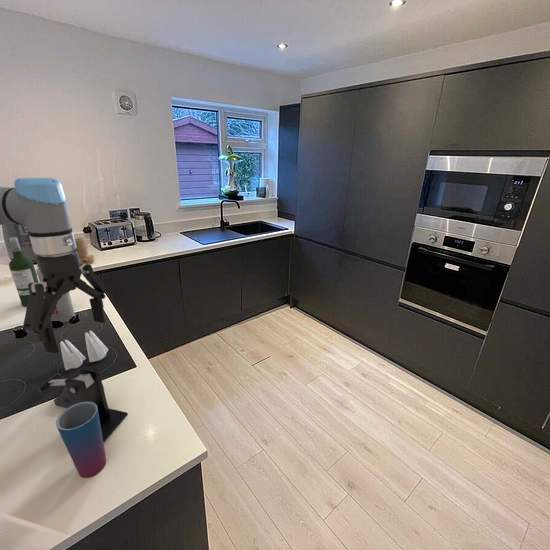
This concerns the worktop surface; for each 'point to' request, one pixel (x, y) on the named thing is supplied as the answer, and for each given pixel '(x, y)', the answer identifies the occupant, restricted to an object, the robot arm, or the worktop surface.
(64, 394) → the button housing
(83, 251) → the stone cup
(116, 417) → the bracket
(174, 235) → the worktop surface
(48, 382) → the toaster lever
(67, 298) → the thermos bottle
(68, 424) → the cup
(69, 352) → the shaker set
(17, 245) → the wine bottle
